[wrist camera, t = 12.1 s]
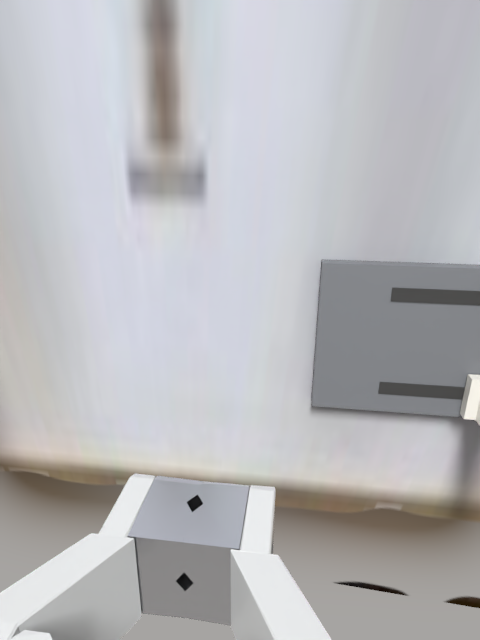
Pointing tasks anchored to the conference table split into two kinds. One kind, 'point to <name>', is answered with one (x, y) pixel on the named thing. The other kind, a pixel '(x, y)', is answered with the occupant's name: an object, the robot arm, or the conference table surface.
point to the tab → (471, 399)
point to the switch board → (396, 336)
